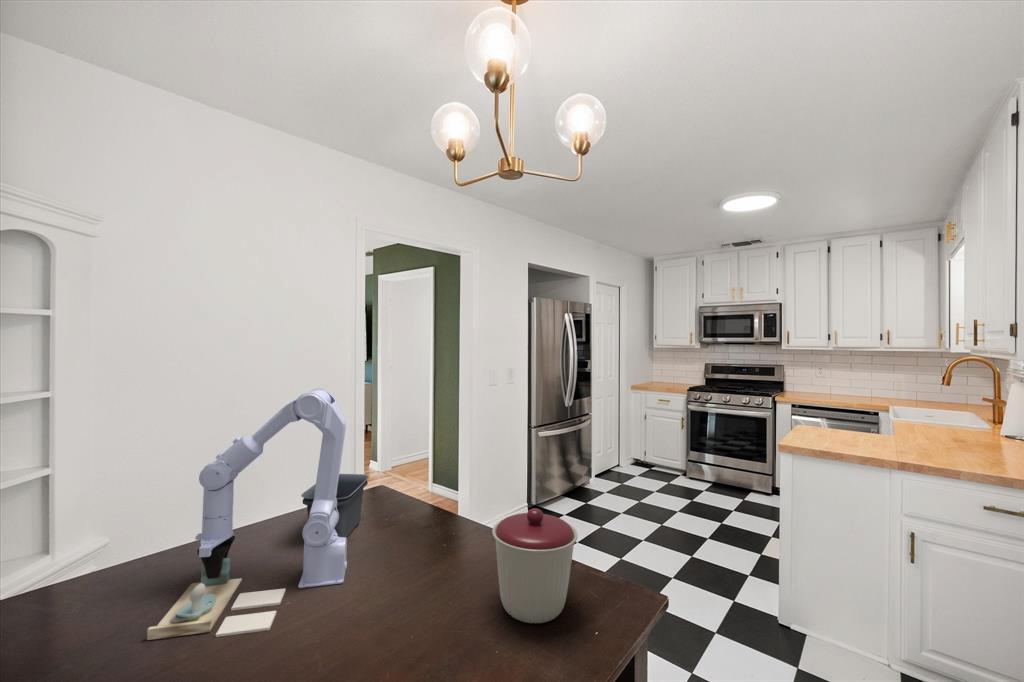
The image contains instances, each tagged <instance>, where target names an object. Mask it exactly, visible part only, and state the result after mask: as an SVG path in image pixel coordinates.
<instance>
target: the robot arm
mask: <svg viewBox="0 0 1024 682" xmlns="http://www.w3.org/2000/svg"><path fill="white" fill-rule="evenodd" d="M301 420H303V421H304V420H305V421H306V422H308V423H311V424H313V425H314V426H315V427H316V428H317V429H318V430H319V431H320V432H321V433H322V439H321V445H320V453H319V460H318V467H317V473H316V474H317V475H316V480H315V484H316V487H315V494H314V501H313V504H312V507H311V510H310V514H309V519H308V518H307V521H306V523H305V525H304V526H303V528H302V534H301V535H302V538H303V540H304V541H303V564H302V565H303V567H302V569H303V571H302V575H301V578H300V581H299V583H298V586H297V587H298V588H299V589H303V588H304V589H305V588H311V587H313V588H314V587H321V586H330V585H338V584H343V583H344V582H345V581H344V580H345V575H346V570H347V567H348V561H347V548H348V546H347V544H348V540H347V539H348V537H347V538H346V537H338V534H337V532H336V530H335V529H334V528H335V526H336V524H337V523H338V520H339V513H338V510H337V499H336V494H337V487H338V479H339V474H340V472H341V464H342V456H343V450H344V444H345V443H344V442H345V435H346V427H347V425H346V423H347V421H346V420H345V418H344V416H343V414H342V412H341V410H340V408H339V406H338V403H337V398H335V397H334V396H333V395H332V394H331V393H330V392H329V391H328V390H326V389H324V388H314V389H312V390H310V391H309V392H308V391H307V392H305V393H302V394H300V395H299V396H298V398H296V399H294V400H292V401H291V402H289V403H287V404H286V405H284V406H283V407H282V408H281V409H280V410H279V411H278V412H277V413H275V414H274V416H272V417H271V418H270V419H269V420H268V421H267V422H266V423H264V425H262V426H261V427H260V428H259V429H258V430H257V431H256V432H255V433H254V434H252V435H251V434H250V435H249V434H247V435H246V434H245V435H243V436H241V437H240V436H238V437H236V438H235V439H234V440H233V441H232V443H233V444H232V445H230V447H228V449H226V450H225V451H224V452H223V453H218V454H217V455H216V456H215V459H216V460H215V461H213V462H210V463H209V464H207V465H205V466H204V467H203V469H202V470H201V471H200V473H199V475H198V482H199V484H200V486H202V487H203V495H202V524H201V525H202V526H201V533H198V534H197V535H196V536H195V541H200V546H199V548H198V549H197V551H196V553H197V556H198V558H200V560H201V562H202V563H203V564H204V567H205V571H206V575H207V578H208V579H213V578H218V577H219V576H220V573H221V568H222V562H223V558H228V555H229V553H230V549H231V547H232V545H233V543H234V541H235V539H236V536H235V535H234V529H233V528H234V527H233V526H234V525H233V523H234V522H233V520H234V519H233V517H234V495H235V494H234V485H235V483H234V481H235V479H236V478H237V477H238V476H239V474H240V473H242V471H244V470H245V469H246V468H247V467H249V466H250V464H252V463H253V462H254V461H255V460H256V459H257V458H258V457H260V456H261V455H262V454H263V453H264V445H265V444H266V443H267V442H269V440H271V439H272V438H273V437H275V435H276V434H278V433H279V432H280V431H282V429H284V428H285V427H287V425H289V424H290V423H293V422H294V423H296V422H299V421H301Z"/></svg>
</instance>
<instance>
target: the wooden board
mask: <svg viewBox="0 0 1024 682" xmlns="http://www.w3.org/2000/svg"><path fill="white" fill-rule="evenodd" d="M230 574H231V557H227V558H223V562H222V568H221V573H220V576H219V577H218V578H213V579H208V578H207V575H206V571H205V567H204V564H203V562H202V563H201V571H200V575H201V576H200V582H192V583H191V584H189V586H188V587H187V588H186V590H185V591H184V592H183V593H182V594H181V595H180V597H179V598H178V599H177V601H176V602H175V603H174V604H173V605H172V607H171V608H170V609H169V611H168V612H167V613H166V614H165V615H164V616H163V618H162V619H161V620H160V621H159V623H158V624H157V625H155V626H149V627H148V628H147V632H146V634H147V635H146V640H147V641H150V640H160V639H168V638H174V637H180V636H188V635H189V636H191V635H197V634H205V633H210V632H211V631H212V630H213V627H214V626H215V624H216V623H217V621H218V619H219V618H220V616H221V615H222V613H223V612H224V610H225V608H226V606H227V605H228V603H229V602H230V600H231V598H232V597H233V595H234V594H235V592H236V591H237V589H238V587H239V586H240V584H241V582H242V581H243V578H242V577H239V578H231V579H230V576H231V575H230ZM201 583H203V584H204V585H205V588H206V590H205V593H204V595H207V594H215V595H216V602H215V604H214V605H213V606H212V607H211V608H210V609H209V610H207V611H205V612H204V614H203V615H202V616H200V617H199V618H197V619H195V620H191V621H186V620H185V621H182V622H172V621H171V618H172V616H173V615H174V614H175V613H176V612H177V611H179V610H180V609H182V608H184V607H185V606H187V605H188V604H190V603H191V602H192V601H190V595H191V593H192V591H193V589H194V588H195V587H196V586H197V585H198V584H201ZM204 595H203V596H204ZM211 603H212V602H211ZM211 603H209V604H207V605H210V604H211ZM178 618H182V617H180V616H178Z"/></svg>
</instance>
